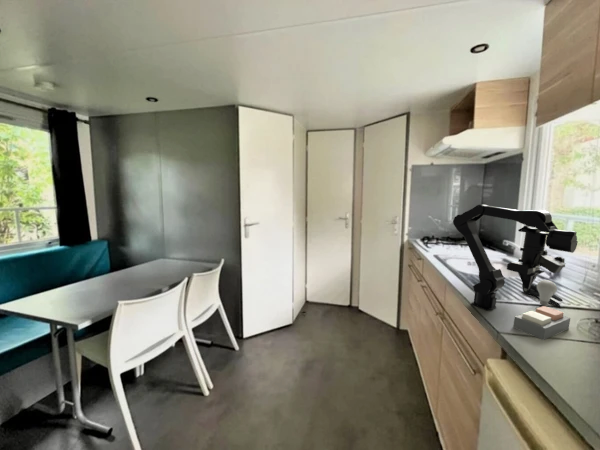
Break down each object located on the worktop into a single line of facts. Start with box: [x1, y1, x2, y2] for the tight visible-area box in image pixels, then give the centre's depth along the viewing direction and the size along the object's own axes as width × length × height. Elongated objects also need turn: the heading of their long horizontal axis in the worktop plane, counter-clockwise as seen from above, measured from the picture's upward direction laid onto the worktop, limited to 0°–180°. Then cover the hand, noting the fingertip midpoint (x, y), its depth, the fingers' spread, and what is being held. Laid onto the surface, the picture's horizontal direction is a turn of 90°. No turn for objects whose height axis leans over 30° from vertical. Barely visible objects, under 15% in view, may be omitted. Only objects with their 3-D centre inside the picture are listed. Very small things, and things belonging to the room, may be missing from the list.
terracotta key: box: [536, 305, 565, 321], centre depth 98 cm, size 6×6×4 cm
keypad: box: [512, 309, 571, 341], centre depth 96 cm, size 9×17×4 cm, turn 117°
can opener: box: [521, 282, 564, 307], centre depth 123 cm, size 18×7×6 cm, turn 3°
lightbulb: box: [537, 279, 558, 307], centre depth 114 cm, size 6×6×11 cm
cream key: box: [522, 310, 551, 326], centre depth 94 cm, size 6×6×4 cm
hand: (526, 288), depth 100 cm, fingers closed
